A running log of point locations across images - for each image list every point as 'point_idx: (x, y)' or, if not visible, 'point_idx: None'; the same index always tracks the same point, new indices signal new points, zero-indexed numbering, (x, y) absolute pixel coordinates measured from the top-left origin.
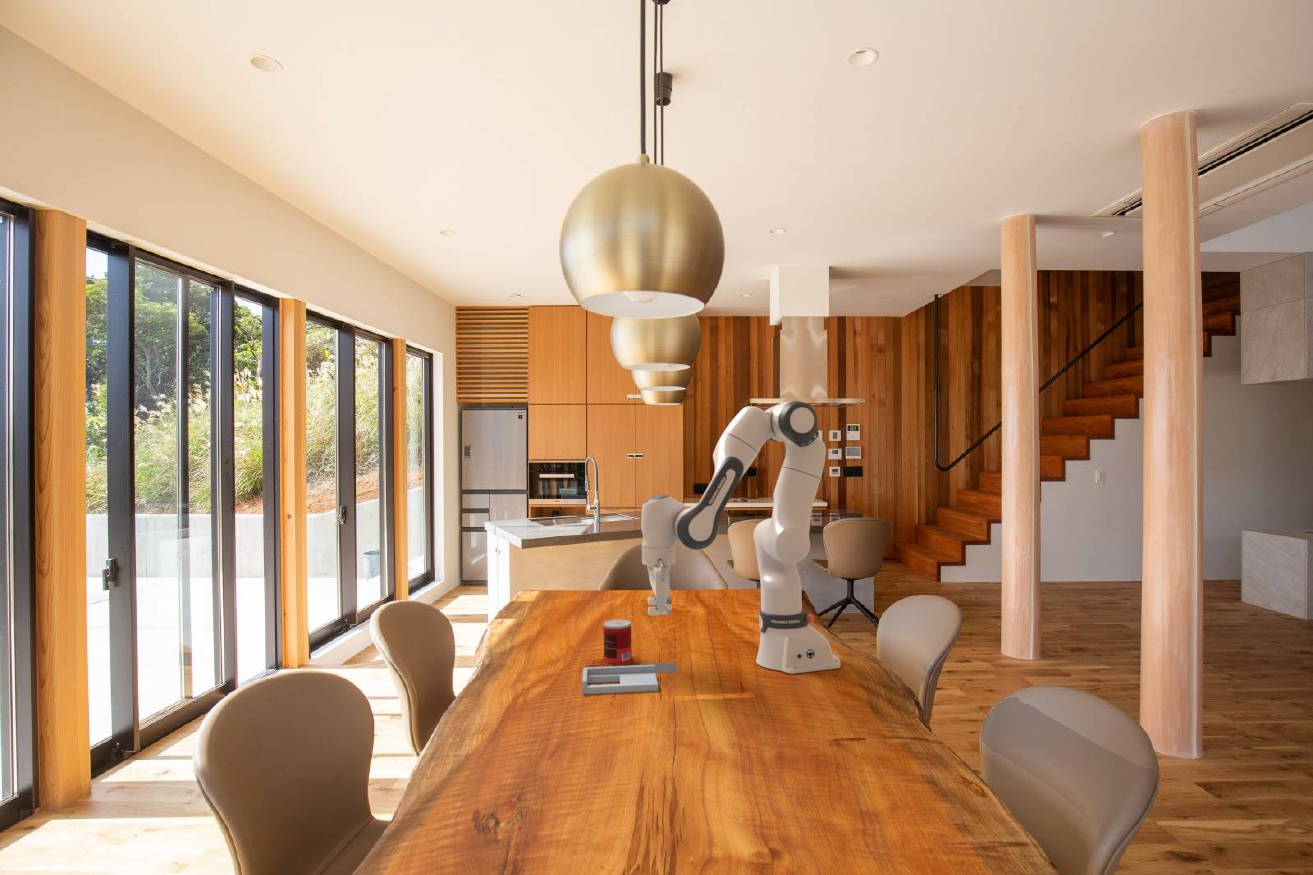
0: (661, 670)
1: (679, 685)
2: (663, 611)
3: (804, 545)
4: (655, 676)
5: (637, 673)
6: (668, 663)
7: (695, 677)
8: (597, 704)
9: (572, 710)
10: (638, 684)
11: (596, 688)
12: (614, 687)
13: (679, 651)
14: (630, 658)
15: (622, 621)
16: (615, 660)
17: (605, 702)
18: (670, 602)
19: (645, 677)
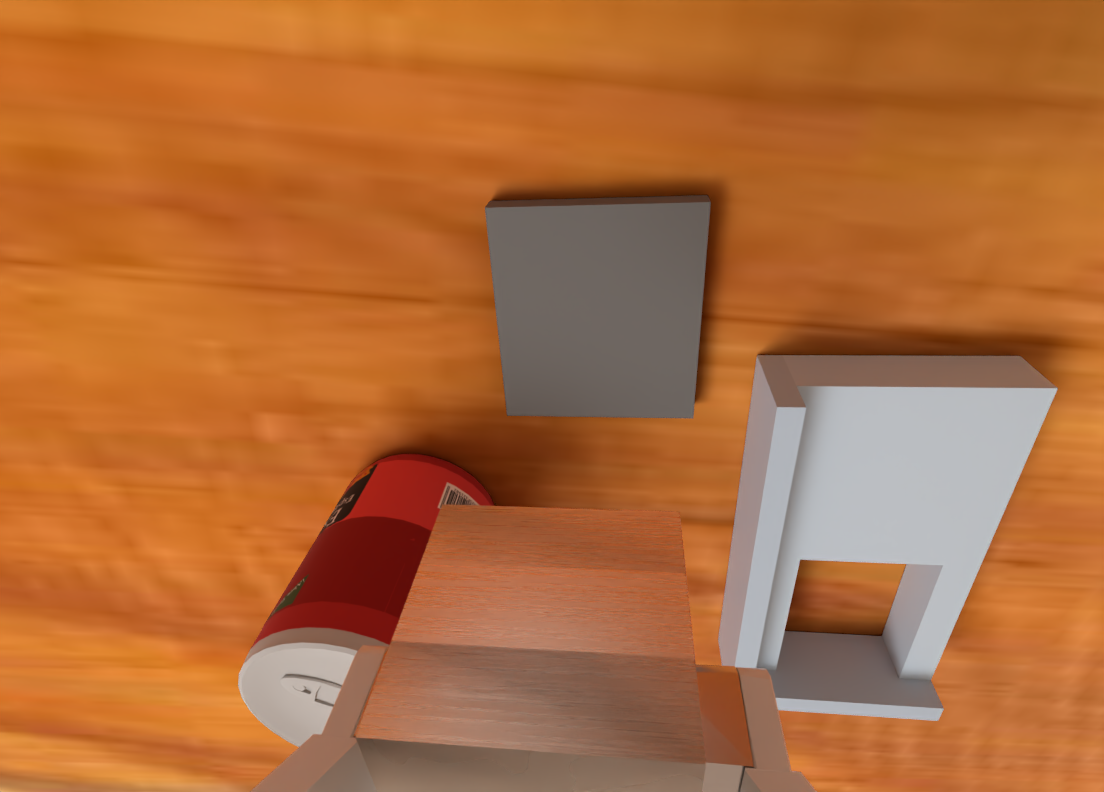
0: (651, 316)
1: (897, 208)
2: (766, 673)
3: None
4: (890, 389)
5: (794, 479)
6: (507, 258)
7: (762, 62)
8: (1007, 608)
9: (1029, 679)
10: (1000, 489)
11: (941, 645)
12: (967, 584)
13: (144, 135)
14: (436, 474)
15: (272, 675)
16: None
17: (998, 581)
18: (693, 705)
19: (889, 445)
